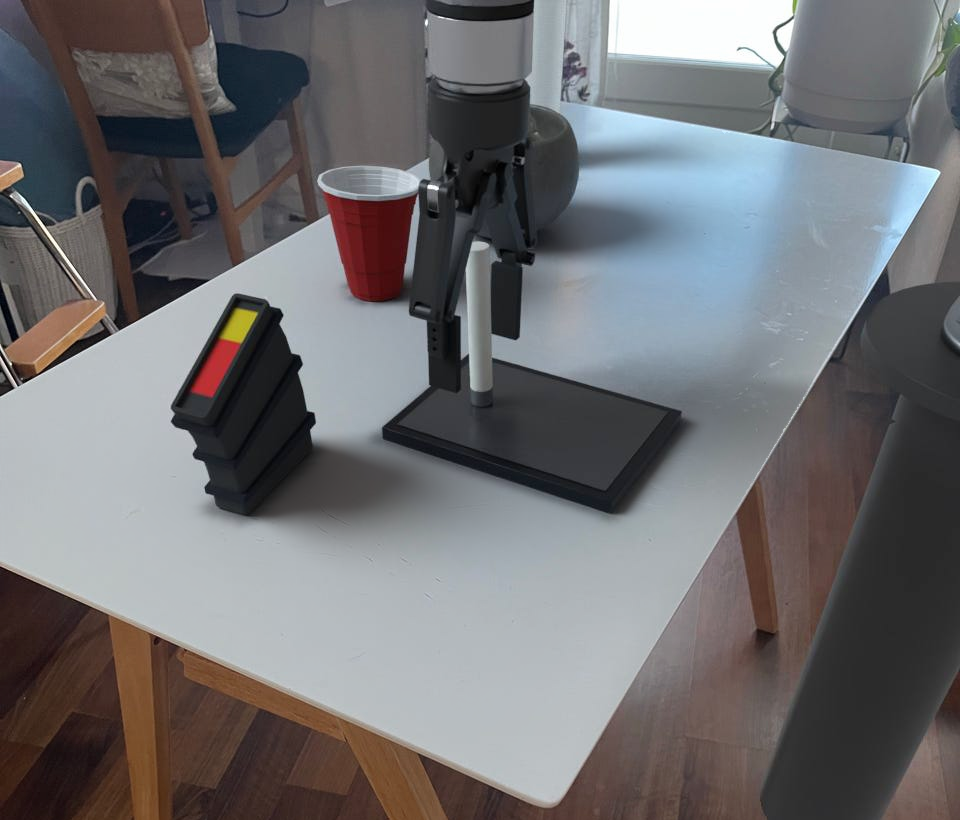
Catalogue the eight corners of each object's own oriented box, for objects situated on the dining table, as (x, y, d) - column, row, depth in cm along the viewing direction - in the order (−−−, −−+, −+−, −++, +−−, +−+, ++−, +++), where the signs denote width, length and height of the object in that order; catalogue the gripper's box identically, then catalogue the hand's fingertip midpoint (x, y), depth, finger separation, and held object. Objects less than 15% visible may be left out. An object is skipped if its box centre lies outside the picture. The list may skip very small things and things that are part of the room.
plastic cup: (445, 284, 108) (443, 171, 100) (388, 320, 102) (381, 203, 93) (367, 261, 112) (360, 151, 104) (308, 295, 106) (294, 180, 97)
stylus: (496, 399, 88) (493, 243, 79) (486, 409, 87) (481, 252, 77) (477, 394, 89) (472, 239, 79) (466, 404, 87) (460, 248, 78)
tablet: (680, 422, 88) (682, 409, 87) (610, 513, 78) (612, 500, 77) (470, 362, 96) (470, 350, 95) (382, 438, 86) (381, 426, 85)
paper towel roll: (508, 153, 140) (514, -24, 125) (550, 152, 140) (560, -23, 125) (513, 170, 135) (519, -12, 120) (556, 170, 135) (567, -12, 120)
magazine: (334, 415, 85) (275, 297, 71) (271, 543, 81) (195, 444, 67) (297, 406, 86) (232, 288, 72) (233, 531, 82) (151, 432, 68)
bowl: (517, 193, 129) (521, 87, 120) (604, 238, 118) (615, 126, 109) (403, 221, 121) (398, 110, 112) (484, 272, 111) (486, 154, 102)
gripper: (506, 37, 78) (499, 301, 94) (346, 110, 64) (368, 407, 79) (591, 50, 76) (569, 319, 91) (443, 129, 61) (447, 432, 77)
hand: (476, 360), depth 85 cm, fingers open, 10 cm apart
